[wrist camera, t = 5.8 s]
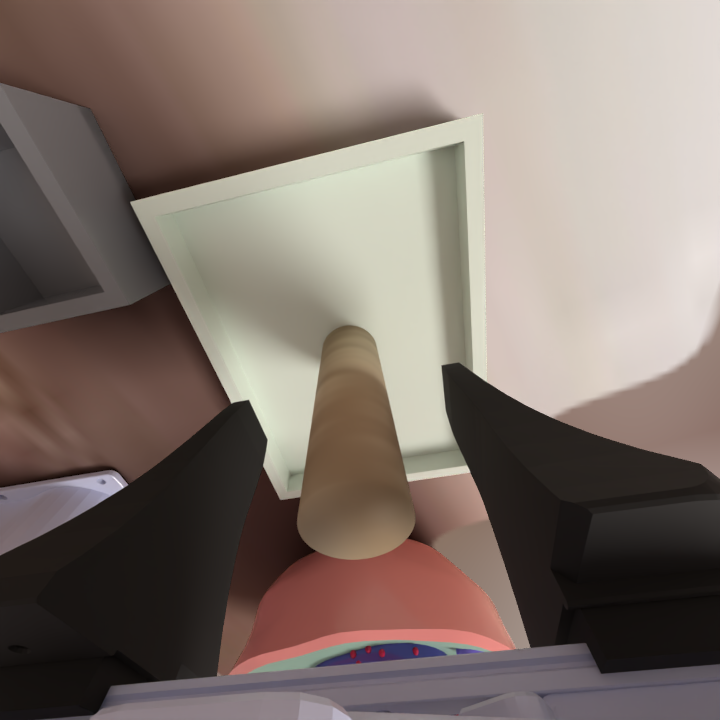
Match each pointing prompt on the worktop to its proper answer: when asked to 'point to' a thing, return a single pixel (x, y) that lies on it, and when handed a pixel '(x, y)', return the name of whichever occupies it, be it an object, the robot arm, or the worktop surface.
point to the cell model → (370, 612)
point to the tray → (337, 281)
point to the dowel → (353, 456)
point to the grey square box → (65, 217)
